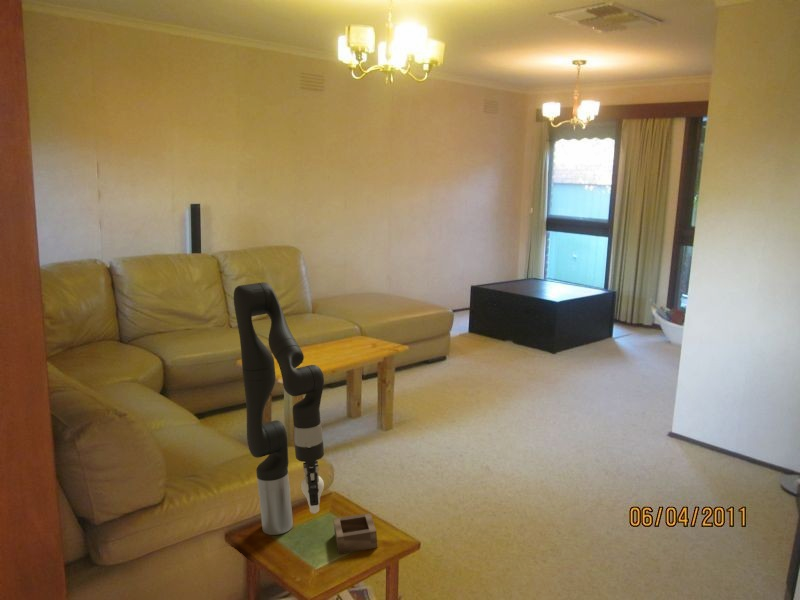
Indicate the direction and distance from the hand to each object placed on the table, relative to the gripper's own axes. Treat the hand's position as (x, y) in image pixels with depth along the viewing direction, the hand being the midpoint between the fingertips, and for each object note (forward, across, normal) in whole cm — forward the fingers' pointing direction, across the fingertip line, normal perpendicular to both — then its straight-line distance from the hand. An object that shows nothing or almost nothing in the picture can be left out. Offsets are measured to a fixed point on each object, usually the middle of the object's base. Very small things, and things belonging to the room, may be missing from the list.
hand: (313, 499), depth 174 cm
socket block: (+18, -8, +11) cm, 23 cm away
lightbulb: (+4, 0, 0) cm, 4 cm away
